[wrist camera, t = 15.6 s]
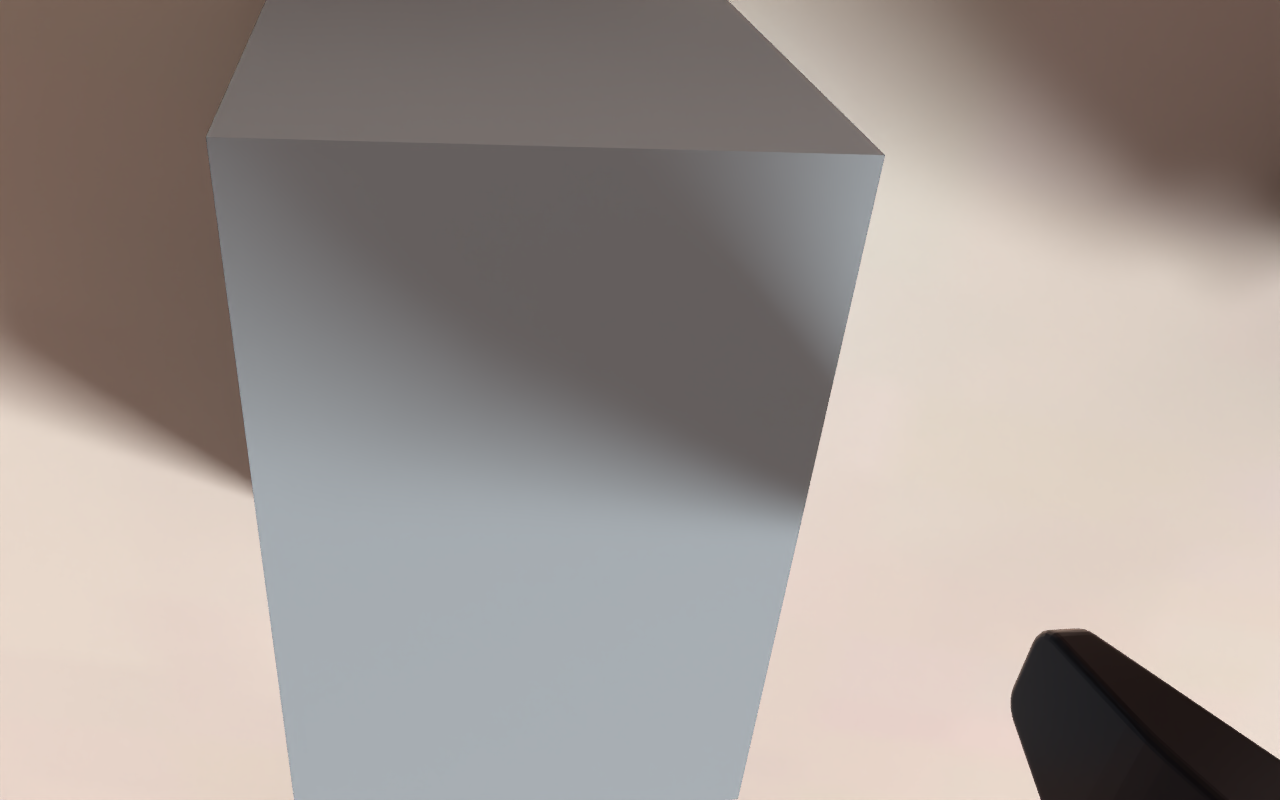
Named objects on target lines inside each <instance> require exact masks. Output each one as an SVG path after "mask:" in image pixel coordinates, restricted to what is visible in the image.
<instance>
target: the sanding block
mask: <svg viewBox="0 0 1280 800" xmlns="http://www.w3.org/2000/svg"><path fill="white" fill-rule="evenodd" d="M206 142H207V150H208V157H209V165H210V172H211V180H212V187H213V195H214V202H215V210H216V217H217V225H218V232H219V240H220V247H221V255H222V262H223V270H224V277H225V285H226V292H227V300H228V307H229V315H230V322H231V330H232V337H233V345H234V352H235V360H236V367H237V375H238V382H239V390H240V397H241V405H242V412H243V420H244V427H245V435H246V442H247V450H248V457H249V465H250V472H251V480H252V487H253V495H254V502H255V510H256V517H257V525H258V532H259V540H260V547H261V555H262V562H263V570H264V577H265V585H266V592H267V600H268V607H269V615H270V622H271V630H272V637H273V645H274V652H275V660H276V667H277V675H278V682H279V690H280V697H281V705H282V712H283V720H284V727H285V735H286V742H287V750H288V757H289V765H290V772H291V780H292V787H293V795H294V800H733V799H738V796H739V792H740V787H741V783H742V778H743V774H744V770H745V765H746V761H747V756H748V752H749V748H750V743H751V739H752V735H753V730H754V726H755V721H756V717H757V713H758V708H759V704H760V700H761V695H762V691H763V686H764V682H765V678H766V673H767V669H768V665H769V660H770V656H771V651H772V647H773V643H774V638H775V634H776V630H777V625H778V621H779V616H780V612H781V608H782V603H783V599H784V594H785V590H786V586H787V581H788V577H789V573H790V568H791V564H792V559H793V555H794V551H795V546H796V542H797V538H798V533H799V529H800V524H801V520H802V516H803V511H804V507H805V503H806V498H807V494H808V489H809V485H810V481H811V476H812V472H813V468H814V463H815V459H816V454H817V450H818V446H819V441H820V437H821V433H822V428H823V424H824V419H825V415H826V411H827V406H828V402H829V397H830V393H831V389H832V384H833V380H834V376H835V371H836V367H837V362H838V358H839V354H840V349H841V345H842V341H843V336H844V332H845V327H846V323H847V319H848V314H849V310H850V306H851V301H852V297H853V292H854V288H855V284H856V279H857V275H858V271H859V266H860V262H861V257H862V253H863V249H864V244H865V240H866V235H867V231H868V227H869V222H870V218H871V214H872V209H873V205H874V200H875V196H876V192H877V187H878V183H879V179H880V174H881V170H882V165H883V161H884V157H885V155H884V154H883V153H882V152H881V151H880V150H879V149H878V148H877V147H876V146H875V145H874V144H873V143H872V142H871V141H870V140H869V139H868V138H867V137H866V136H865V135H864V134H863V133H862V132H861V131H860V130H859V129H858V128H857V127H856V126H855V125H854V124H853V123H852V122H851V121H850V120H849V119H848V118H847V117H846V116H845V115H844V114H843V113H842V112H840V111H839V110H838V109H837V108H836V107H835V106H834V105H833V104H832V103H831V102H830V101H829V100H828V99H827V98H826V97H825V96H824V95H823V94H822V93H821V92H820V91H819V90H818V89H817V88H816V87H815V86H814V85H813V84H812V83H811V82H810V81H809V80H808V79H807V78H806V77H805V76H804V75H803V74H802V73H801V72H800V71H799V70H798V69H797V68H796V67H795V66H794V65H793V64H792V63H791V62H790V61H789V60H788V59H787V58H786V57H785V56H784V55H783V54H782V53H781V52H780V51H778V50H777V49H776V48H775V47H774V46H773V45H772V44H771V43H770V42H769V41H768V40H767V39H766V38H765V37H764V36H763V35H762V34H761V33H760V32H759V31H758V30H757V29H756V28H755V27H754V26H753V25H752V24H751V23H750V22H749V21H748V20H747V19H746V18H745V17H744V16H743V15H742V14H741V13H740V12H739V11H738V10H737V9H736V8H735V7H734V6H733V5H732V4H731V3H730V2H729V1H728V0H266V1H265V4H264V6H263V8H262V10H261V13H260V15H259V17H258V20H257V22H256V24H255V26H254V29H253V31H252V33H251V35H250V38H249V40H248V42H247V45H246V47H245V49H244V51H243V54H242V56H241V58H240V60H239V63H238V65H237V67H236V70H235V72H234V74H233V76H232V79H231V81H230V83H229V85H228V88H227V90H226V92H225V95H224V97H223V99H222V101H221V104H220V106H219V108H218V110H217V113H216V115H215V117H214V120H213V122H212V124H211V126H210V129H209V131H208V133H207V135H206Z"/></svg>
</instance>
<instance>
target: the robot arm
mask: <svg viewBox="0 0 1280 800" xmlns="http://www.w3.org/2000/svg"><path fill="white" fill-rule="evenodd" d="M1011 712H1012V717H1013V721H1014V724H1015V727H1016V730H1017V732H1018V735H1019V738H1020V741H1021V744H1022V747H1023V750H1024V753H1025V756H1026V758H1027V761H1028V764H1029V767H1030V770H1031V773H1032V776H1033V779H1034V782H1035V784H1036V787H1037V790H1038V793H1039V796H1040V799H1041V800H1280V760H1279V759H1278V758H1276V757H1275V756H1273V755H1272V754H1270V753H1269V752H1268V751H1266V750H1265V749H1263V748H1262V747H1260V746H1259V745H1257V744H1256V743H1254V742H1253V741H1251V740H1250V739H1248V738H1247V737H1245V736H1244V735H1242V734H1241V733H1239V732H1238V731H1237V730H1235V729H1234V728H1232V727H1231V726H1229V725H1228V724H1226V723H1225V722H1223V721H1222V720H1220V719H1219V718H1217V717H1216V716H1214V715H1213V714H1211V713H1210V712H1209V711H1207V710H1206V709H1204V708H1203V707H1201V706H1200V705H1198V704H1197V703H1195V702H1194V701H1192V700H1191V699H1189V698H1188V697H1186V696H1185V695H1183V694H1182V693H1180V692H1179V691H1178V690H1176V689H1175V688H1173V687H1172V686H1170V685H1169V684H1167V683H1166V682H1164V681H1163V680H1161V679H1160V678H1158V677H1157V676H1155V675H1154V674H1152V673H1151V672H1150V671H1148V670H1147V669H1145V668H1144V667H1142V666H1141V665H1139V664H1138V663H1136V662H1135V661H1133V660H1132V659H1130V658H1129V657H1127V656H1126V655H1124V654H1123V653H1122V652H1120V651H1119V650H1117V649H1116V648H1114V647H1113V646H1111V645H1110V644H1108V643H1107V642H1105V641H1104V640H1102V639H1101V638H1099V637H1098V636H1096V635H1095V634H1093V633H1091V632H1090V631H1087V630H1084V629H1059V630H1047V631H1043V632H1042V633H1041V634H1039V635H1038V636H1037V637H1036V638H1035V640H1034V642H1033V644H1032V646H1031V648H1030V651H1029V653H1028V655H1027V657H1026V660H1025V662H1024V664H1023V667H1022V669H1021V671H1020V673H1019V676H1018V678H1017V680H1016V683H1015V685H1014V687H1013V690H1012V694H1011Z"/></svg>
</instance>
